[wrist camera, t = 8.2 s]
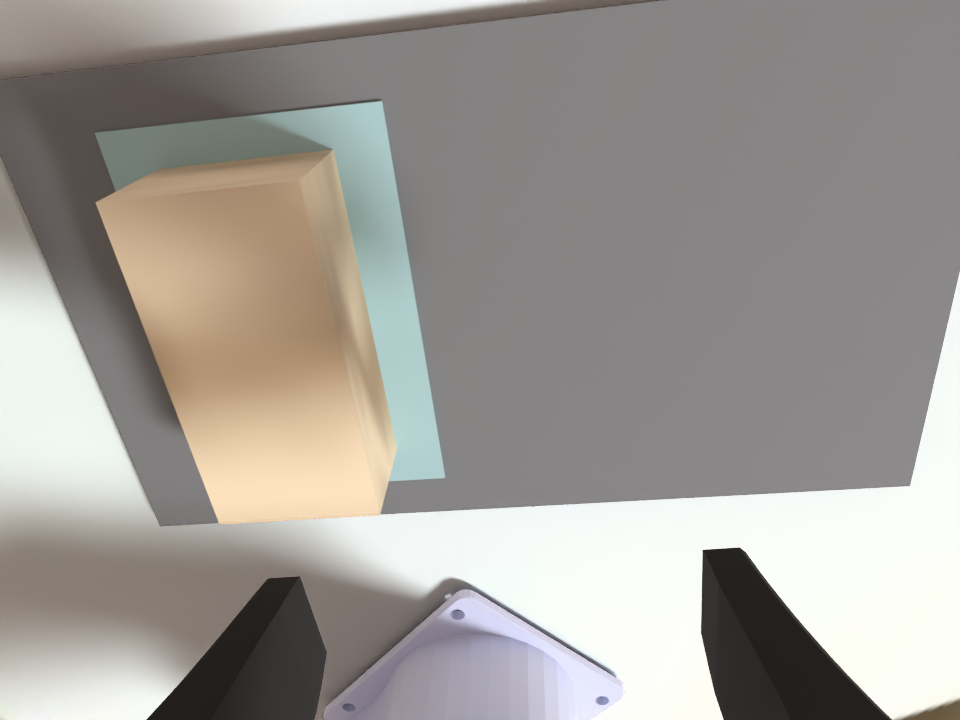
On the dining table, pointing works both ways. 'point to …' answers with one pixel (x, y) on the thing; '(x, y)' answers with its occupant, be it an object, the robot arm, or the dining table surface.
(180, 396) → the tan wooden block
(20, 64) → the dining table surface
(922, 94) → the mat
